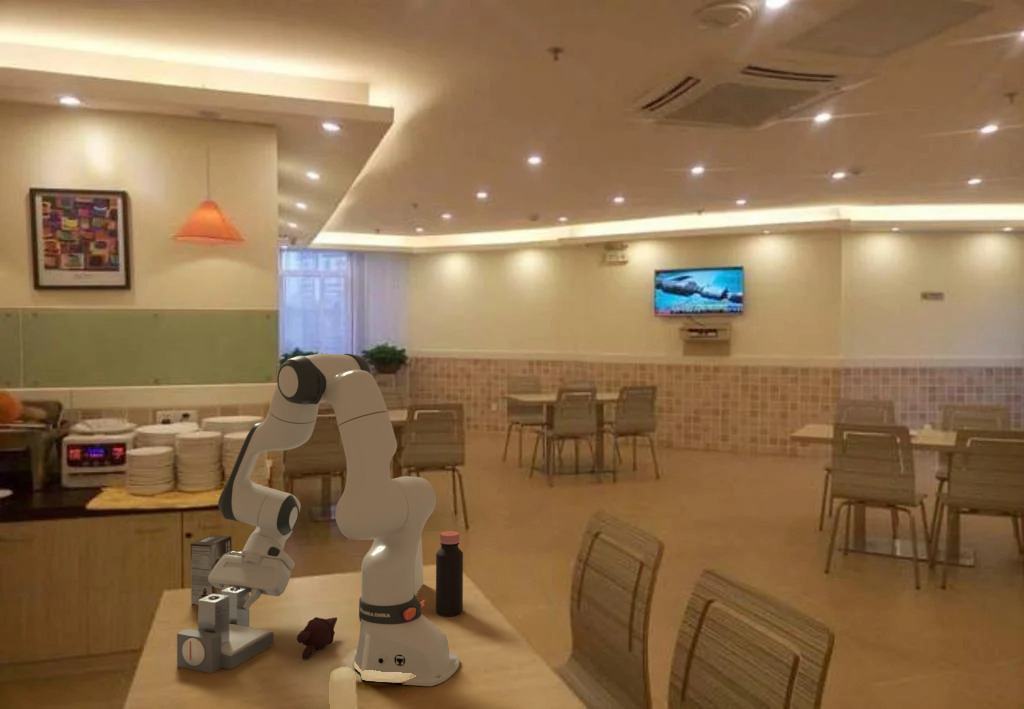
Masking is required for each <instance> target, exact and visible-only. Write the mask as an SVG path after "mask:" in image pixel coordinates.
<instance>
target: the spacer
mask: <svg viewBox="0 0 1024 709" xmlns="http://www.w3.org/2000/svg"><path fill="white" fill-rule="evenodd" d="M221 595H227V596H229V624H235V625H241V626H247V627H250V609H249V610H243V609H242V608H240V605H241V603H242V601H243V600H246V599H247V598H248V597H249V596H250V592H249V588H247V587H240V586H231V587H229V588H227V589H224V590H222V591H221Z"/></svg>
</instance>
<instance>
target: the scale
mask: <svg viewBox="0 0 1024 709" xmlns="http://www.w3.org/2000/svg"><path fill="white" fill-rule="evenodd" d="M274 635H275V634H274V631H273V632H272V631H271V630H269V629H264V628H258V627H250V626H249V627H247V626H241V625H235V624H229V642H228V643H226V644H224V645H222V646H221V634H215V633H209V632H203V631H198V629H197V630H196V629H190V628H186V629H184V630H182V631H179V632H178V633H177V634H176V662H177V663H176V667H177V668H183V669H188V670H193V671H199V672H202V671H203V672H204V673H208V674H213V673H215V672H217V671H218V670H220V669H225V670H233V669H235V668H237V667H238V666H239V665H241V664H243V663H244V662H247V660H249V659H251V658H252V657H254V656H256V655H258V654H259V653H261V652H263V651H264V650H266V649H267V648H269V647H271V646H273V645H274V643H275V642H274V641H275V640H274V637H275V636H274Z"/></svg>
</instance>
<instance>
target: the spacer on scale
mask: <svg viewBox="0 0 1024 709" xmlns="http://www.w3.org/2000/svg"><path fill="white" fill-rule="evenodd" d="M197 607H198V609H197V610H198V611H197V614H198V615H197V616H198V617H197V619H198V620H197V622H198V624H197V625H198V628H197V631H203V632H209V633H215V634H221V646H222V645H224V644H226V643H228V642H229V596H227V595H220V594H211V595H208V596H206V597H204V598H202V599H200V600H198V605H197Z"/></svg>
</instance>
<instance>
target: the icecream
mask: <svg viewBox="0 0 1024 709" xmlns="http://www.w3.org/2000/svg"><path fill="white" fill-rule="evenodd" d="M337 621H338V617H337V616H336V617H331V618H324V617H323V618H322V617H316V616H315V617H313V618H312V619H310V620H309V621H308V622H307V624H306V626H305V627H304V628H303V630H301V631H300V632H299V633H298V634H297V636H296V641H297V642H298V644H302V645H303V646H305V648H304V649H303V651H302V653H301V659H302V660H308V659H309V658H311V656H312V655H313V653H314V651H316V650H321V649H324V648H325V647H327V646H329V645H331V644H332V643H333V642H334V637H335V626H336V624H337Z"/></svg>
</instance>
